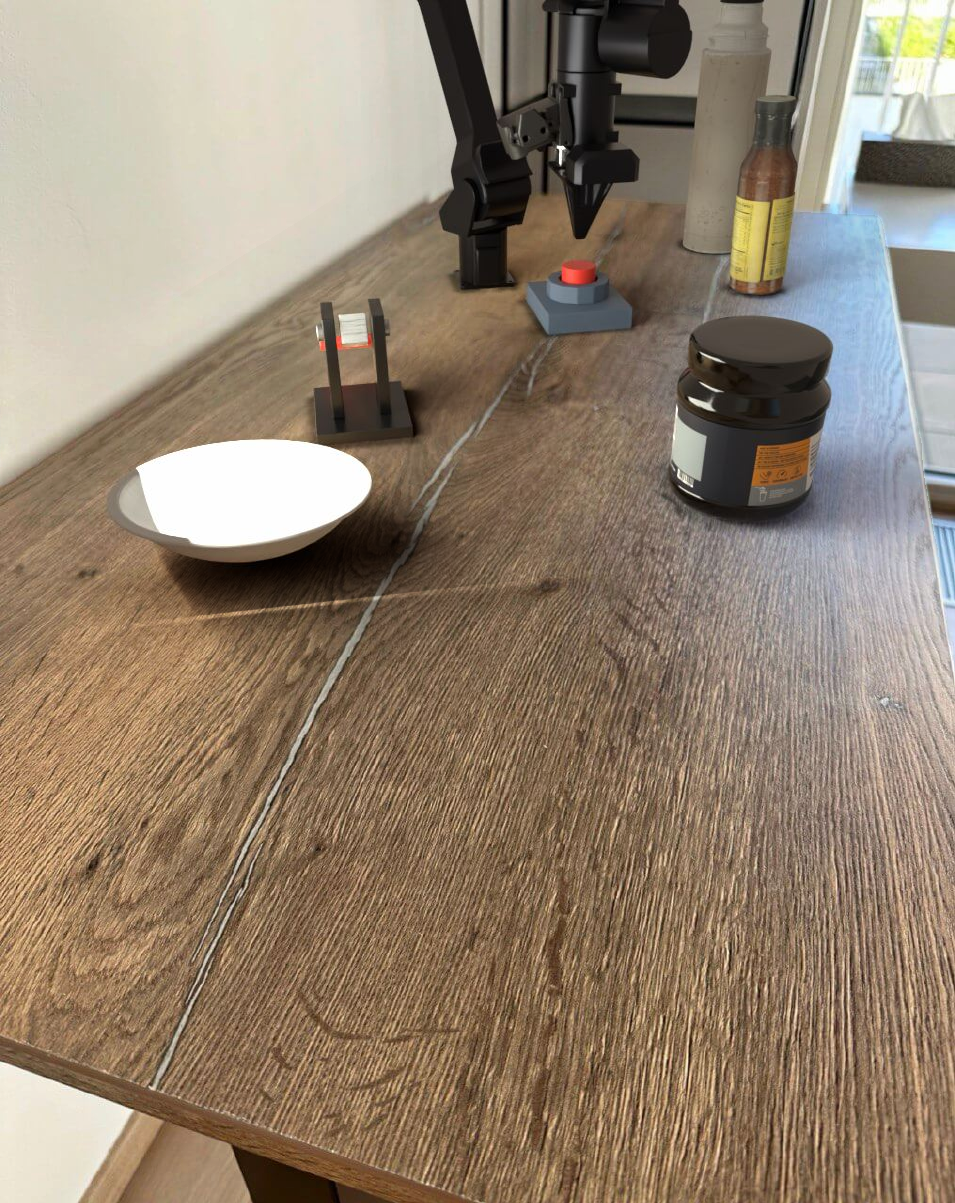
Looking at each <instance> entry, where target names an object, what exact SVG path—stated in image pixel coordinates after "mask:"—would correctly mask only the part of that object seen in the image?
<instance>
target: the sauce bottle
mask: <svg viewBox="0 0 955 1203" xmlns="http://www.w3.org/2000/svg"><path fill="white" fill-rule="evenodd" d="M796 108H797V98H796V97H795V96H793V95H785V94H768V95H766V96H762V97H759V98H757V100H756V105H755V113H756V122H755V132H754V137H753V145H752V147H751V148H750V150H749V152H748V154H747V155H746V157H745V159H744V160H743V162H742V163H741V167H740V174H739V181H738V189H737V196H736V206H735V215H734V226H733V237H732V250H731V253H730V262H729V272H728V273H729V286H730V288H731V289H732V290H733V291H735V292H737V293H740V294H743V295H754V296H766V295H773V294H775V293H777V292H779V291H781V290H782V287H783V284H784V276H785V275H786V271H787V263H788V254H789V248H790V247H789V246H790V240H791V232H792V224H793V215H794V207H795V200H796V199H795V198H796V184H797V183H796V182H797V176H798V161H797V158H796V157H795V154H794V150H793V147H792V145H791V139H792V138H791V132H792V122H793V116H794V114H795V112H796Z"/></svg>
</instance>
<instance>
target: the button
mask: <svg viewBox="0 0 955 1203" xmlns="http://www.w3.org/2000/svg"><path fill="white" fill-rule="evenodd" d="M561 264H562V265H561V270H562V282H565V283H569V284H589V283H592V282H595V275H596V271H597V264H596V263H595V262H593V261H590V260H583V259H573V260H568V261H565V262H563V263H561Z"/></svg>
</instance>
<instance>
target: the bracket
mask: <svg viewBox="0 0 955 1203" xmlns="http://www.w3.org/2000/svg"><path fill="white" fill-rule="evenodd" d="M381 302H382V301H381V299H380V297H379V298H368V299H367V307H368V319H369V329H370V330H369V331H370V334H371V342H372V347H371V353H372V364H373V375H374V382H369V383H367V382H366V383H358V384H357V383H356V384H355V383H354V384H345V385H342V378H341V369H340V360H339V351H338V350H337V341H336V336H337V332H336V324H335V316H334V307H333V302H332V301H324V302H320V303H319V306H320V307H319V309H320V319H321V323H316V324H315V327H316V328H315V329H316V336H317V337H316V338H317V342H319V343H320V341H324V346H325V351H324V352H325V361H326V371H327V380H328V386H320V387H313V404H314V418H315V435H316V444H317V445H321V446H333V445H342V444H344V445H345V444H354V443H364V442H377V441H387V440H398V439H399V440H400V439H409V438H414V428H413V423H412V419H411V415H410V411H409V407H408V403H407V398H406V396H405V392H404V387H403V384H402V380H393V381H392V380H391V381H390V376H389V362H388V349H387V337H391V327H390V320H389V318H385V314H384V311H383V306H382V303H381Z"/></svg>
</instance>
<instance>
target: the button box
mask: <svg viewBox="0 0 955 1203" xmlns="http://www.w3.org/2000/svg"><path fill="white" fill-rule="evenodd" d="M610 280H611V278H610V277H609V276H608V275H607V273H605V272H603V271H598V270H596V275H595V282H592V283H589V284H569V283H565V282H562V269H561V270H558V271H554V272H551V273H550V274H549V275H548V276H547V278H546V280H541V281H540V280H539V281H527V282H526V303H527V304H528V306H529V308H530V309H531V311H532V312H533V314H534V315H535V317H536V318H537V321H538V322H539V323H540V325H541V326H542V328H543V329H544V331H545V332H546V334H547V335H548V336H549V335H550V336H551V335H562V334H574V333H575V334H577V333H585V332H586V333H587V332H597V331H598V332H601V331H610V330H624V329H625V330H626V329H632V322H633V311H634V310H633V307H632V306H631V304H629V303H628V301H627V300H626V299H625V298H624V297H623V296H622V295H621V293H619V291H618V290H617V289H616V288H615V287H614V286H613V285H612V284H611V282H610Z"/></svg>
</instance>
